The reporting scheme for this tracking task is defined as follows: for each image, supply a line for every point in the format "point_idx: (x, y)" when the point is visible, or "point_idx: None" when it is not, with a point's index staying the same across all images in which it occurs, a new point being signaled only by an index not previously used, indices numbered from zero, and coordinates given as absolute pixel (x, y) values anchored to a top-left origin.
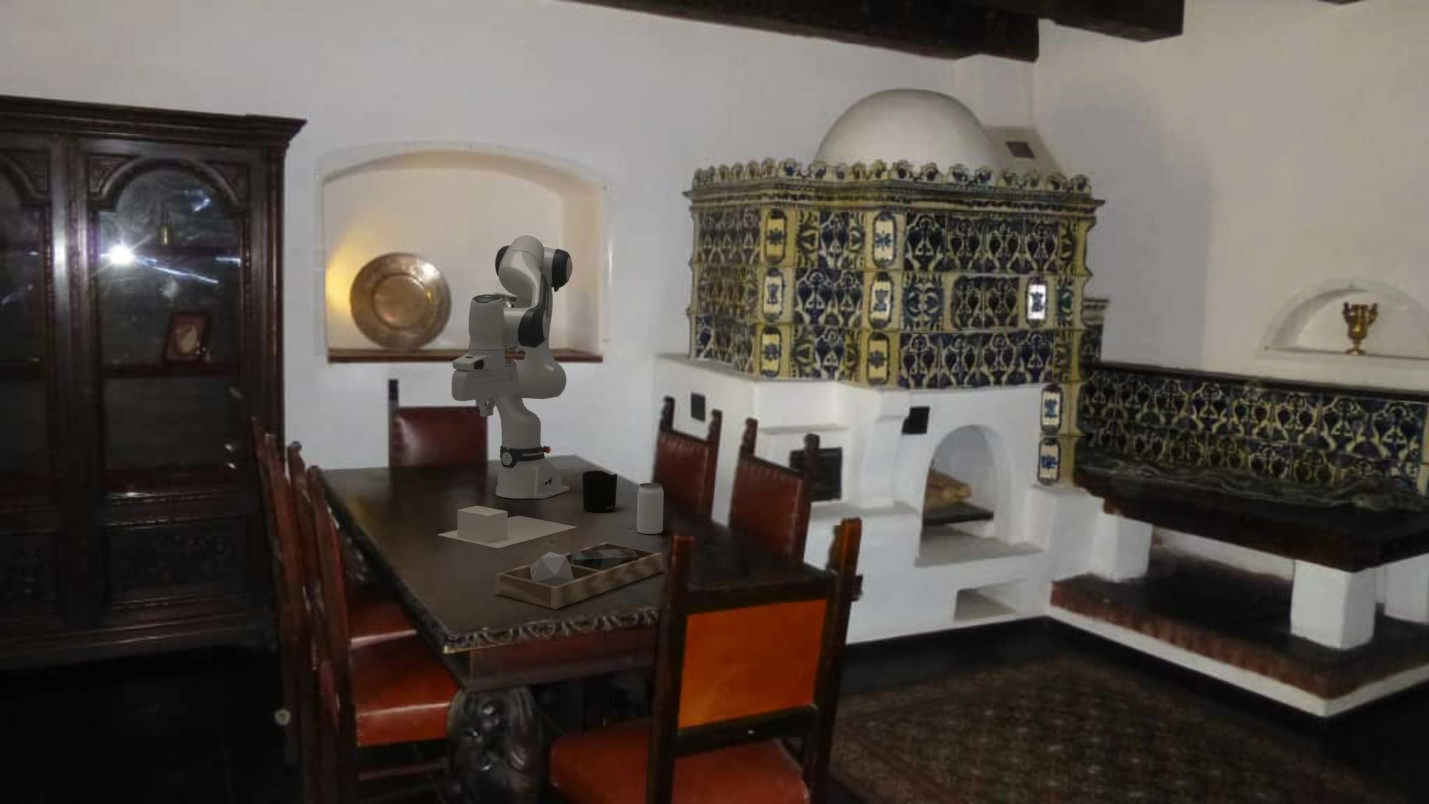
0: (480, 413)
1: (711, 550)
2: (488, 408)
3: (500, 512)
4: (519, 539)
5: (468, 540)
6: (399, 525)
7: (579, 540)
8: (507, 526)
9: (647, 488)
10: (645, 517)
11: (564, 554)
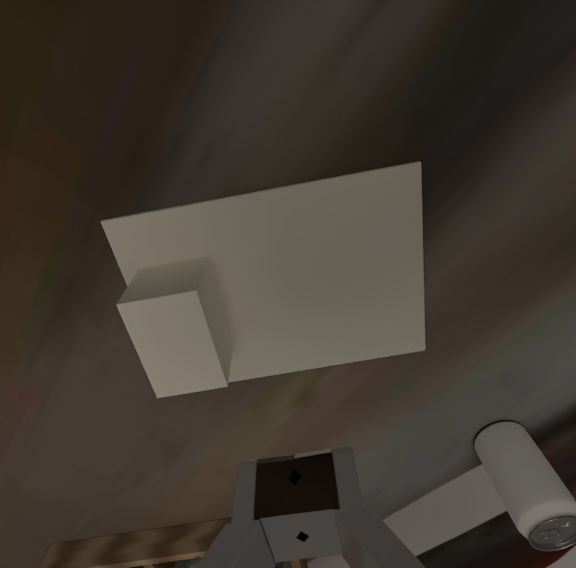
0: (237, 481)
1: (452, 544)
2: (329, 533)
3: (205, 385)
4: (248, 364)
5: None
6: (42, 6)
7: (349, 416)
8: (304, 255)
9: (528, 539)
10: (489, 476)
11: (185, 555)
